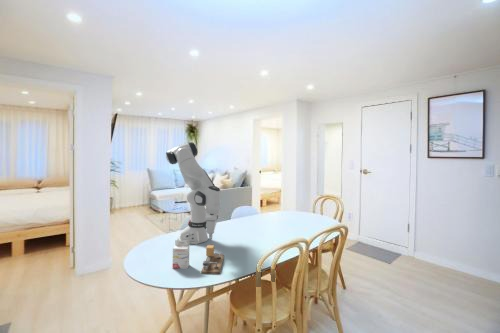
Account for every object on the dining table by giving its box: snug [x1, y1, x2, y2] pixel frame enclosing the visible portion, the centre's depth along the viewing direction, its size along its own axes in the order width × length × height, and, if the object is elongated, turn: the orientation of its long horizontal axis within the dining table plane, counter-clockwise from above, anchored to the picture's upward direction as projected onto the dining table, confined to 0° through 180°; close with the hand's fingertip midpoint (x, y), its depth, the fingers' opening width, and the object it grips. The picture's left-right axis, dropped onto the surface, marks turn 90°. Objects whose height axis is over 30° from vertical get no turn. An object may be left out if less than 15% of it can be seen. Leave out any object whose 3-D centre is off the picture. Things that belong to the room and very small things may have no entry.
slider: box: [205, 244, 220, 258], centre depth 150 cm, size 8×4×7 cm, turn 90°
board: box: [200, 253, 225, 275], centre depth 144 cm, size 10×22×4 cm, turn 0°
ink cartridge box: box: [172, 239, 190, 270], centre depth 140 cm, size 9×5×15 cm, turn 92°
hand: (211, 235), depth 150 cm, fingers open, 8 cm apart
